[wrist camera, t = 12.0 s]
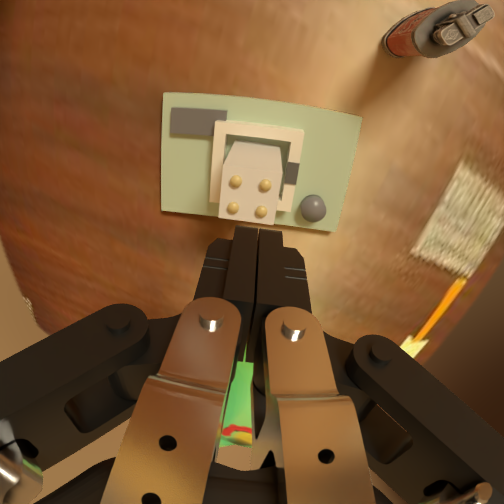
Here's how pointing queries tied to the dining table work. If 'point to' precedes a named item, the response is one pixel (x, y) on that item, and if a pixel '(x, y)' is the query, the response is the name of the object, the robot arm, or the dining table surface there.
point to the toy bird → (239, 408)
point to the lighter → (437, 29)
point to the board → (263, 131)
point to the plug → (251, 182)
